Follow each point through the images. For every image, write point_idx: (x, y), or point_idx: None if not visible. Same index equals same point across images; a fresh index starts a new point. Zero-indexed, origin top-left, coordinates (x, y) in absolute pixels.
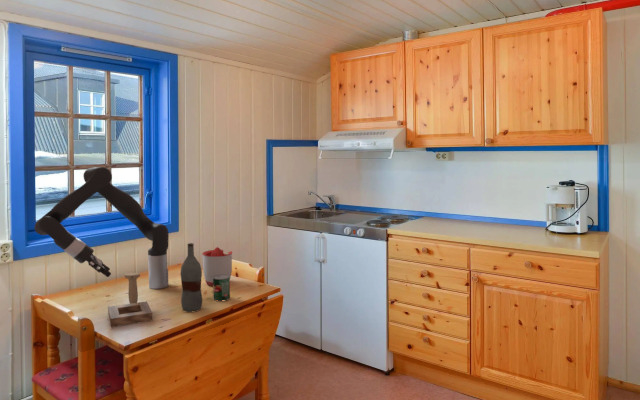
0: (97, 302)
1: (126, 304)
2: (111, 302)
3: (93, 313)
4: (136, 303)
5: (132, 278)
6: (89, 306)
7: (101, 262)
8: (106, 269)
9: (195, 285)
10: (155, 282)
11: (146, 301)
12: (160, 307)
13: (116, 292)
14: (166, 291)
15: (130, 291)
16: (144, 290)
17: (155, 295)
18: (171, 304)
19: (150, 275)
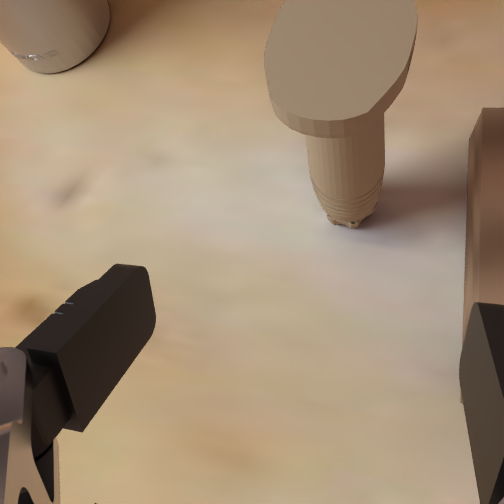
0: (126, 407)
1: (489, 254)
2: (186, 322)
3: (369, 499)
4: (502, 182)
5: (407, 70)
6: (180, 482)
7: (23, 405)
8: (130, 319)
9: None
10: (74, 16)
11: (485, 111)
12: (482, 64)
13: (7, 253)
14: (179, 3)
15: (372, 173)
16: (81, 104)
17: (214, 62)
18: (453, 2)
19: (13, 3)
